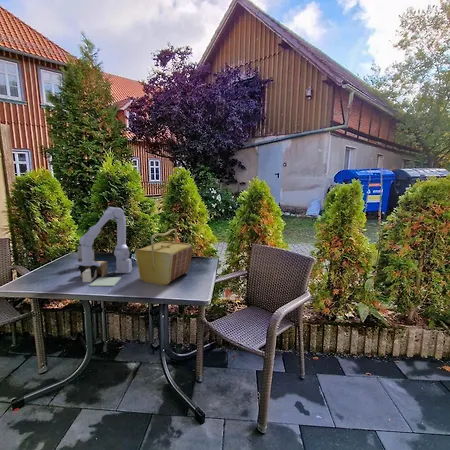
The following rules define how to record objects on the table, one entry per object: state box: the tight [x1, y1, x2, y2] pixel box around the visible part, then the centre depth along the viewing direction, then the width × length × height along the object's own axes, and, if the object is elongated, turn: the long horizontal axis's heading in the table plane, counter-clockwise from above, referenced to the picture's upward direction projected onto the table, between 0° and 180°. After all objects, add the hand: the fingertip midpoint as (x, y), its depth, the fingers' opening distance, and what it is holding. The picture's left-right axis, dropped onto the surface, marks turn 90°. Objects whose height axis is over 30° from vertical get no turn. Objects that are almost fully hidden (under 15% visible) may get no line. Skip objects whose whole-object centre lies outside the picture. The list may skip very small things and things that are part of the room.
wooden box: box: [79, 260, 109, 279], centre depth 188 cm, size 14×8×8 cm, turn 92°
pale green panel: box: [88, 276, 122, 287], centre depth 177 cm, size 14×14×1 cm
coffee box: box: [77, 243, 95, 262], centre depth 206 cm, size 9×6×16 cm
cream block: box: [82, 268, 98, 283], centre depth 181 cm, size 4×10×6 cm, turn 3°
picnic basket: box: [134, 228, 194, 286], centre depth 185 cm, size 29×26×30 cm
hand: (88, 277), depth 180 cm, fingers closed on cream block, 4 cm apart
